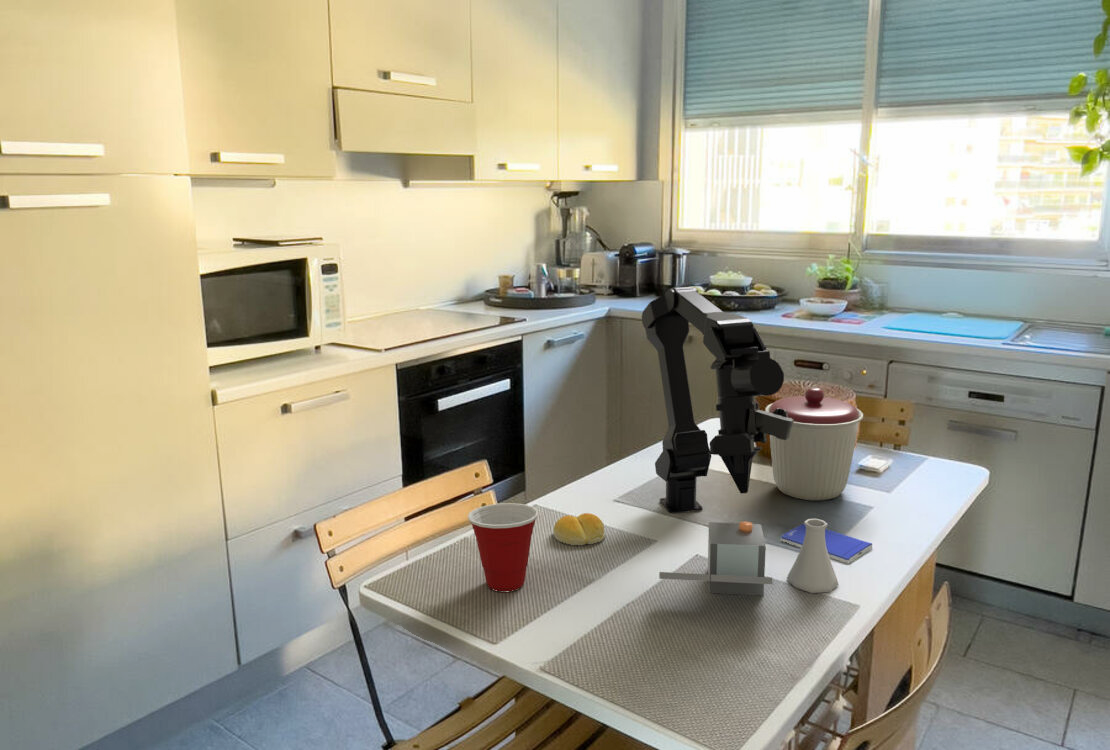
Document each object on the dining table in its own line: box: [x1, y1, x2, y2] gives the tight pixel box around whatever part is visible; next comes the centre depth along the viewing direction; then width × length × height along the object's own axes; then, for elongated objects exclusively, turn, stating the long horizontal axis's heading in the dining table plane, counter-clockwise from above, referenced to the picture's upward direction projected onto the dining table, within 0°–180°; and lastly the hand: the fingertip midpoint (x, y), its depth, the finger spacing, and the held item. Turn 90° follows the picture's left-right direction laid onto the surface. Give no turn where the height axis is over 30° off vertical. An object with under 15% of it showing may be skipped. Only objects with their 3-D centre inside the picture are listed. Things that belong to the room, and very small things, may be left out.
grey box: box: [707, 520, 767, 597], centre depth 130 cm, size 9×8×9 cm
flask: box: [786, 518, 839, 594], centre depth 129 cm, size 7×7×10 cm
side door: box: [659, 571, 773, 585], centre depth 122 cm, size 1×16×8 cm
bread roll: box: [552, 512, 606, 546], centre depth 148 cm, size 8×9×4 cm
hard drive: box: [780, 522, 873, 564], centre depth 144 cm, size 2×8×12 cm
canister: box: [764, 386, 864, 502], centre depth 165 cm, size 18×18×21 cm
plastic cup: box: [467, 502, 539, 592], centre depth 131 cm, size 11×11×12 cm
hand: (744, 493), depth 136 cm, fingers closed
